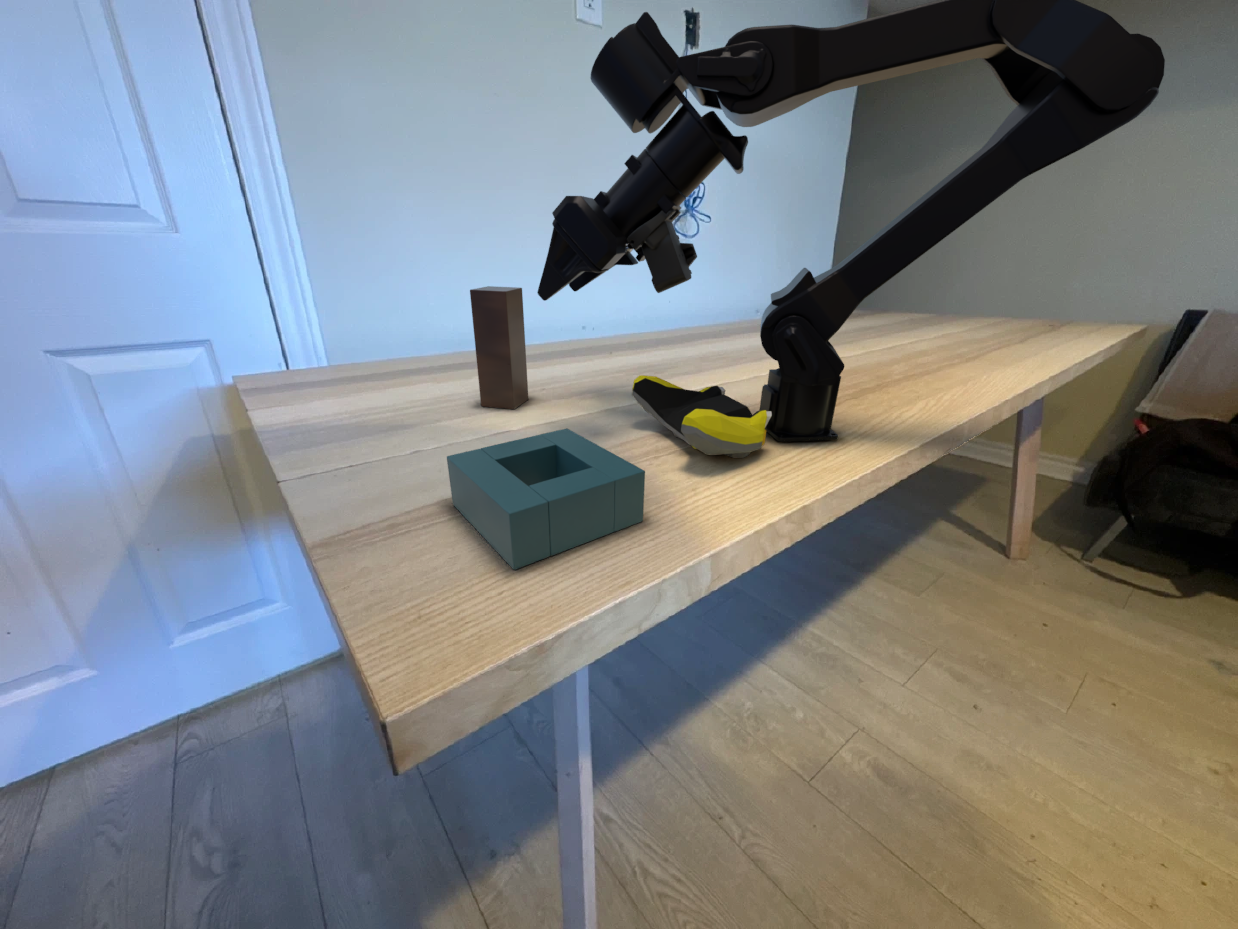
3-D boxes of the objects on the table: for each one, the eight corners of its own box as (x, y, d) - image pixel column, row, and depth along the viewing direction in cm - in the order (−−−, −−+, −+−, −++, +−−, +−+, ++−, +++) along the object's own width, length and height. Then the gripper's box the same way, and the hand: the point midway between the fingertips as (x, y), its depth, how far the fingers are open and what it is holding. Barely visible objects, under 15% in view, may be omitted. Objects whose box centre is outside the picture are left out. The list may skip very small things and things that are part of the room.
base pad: (568, 471, 44) (566, 427, 43) (643, 521, 37) (645, 470, 35) (452, 504, 39) (446, 455, 37) (513, 570, 31) (509, 513, 30)
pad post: (528, 399, 63) (522, 287, 58) (514, 409, 59) (505, 291, 54) (497, 396, 64) (488, 286, 59) (480, 406, 60) (469, 289, 55)
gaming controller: (689, 479, 43) (787, 463, 47) (694, 417, 41) (797, 405, 44) (624, 422, 56) (704, 412, 59) (625, 372, 54) (709, 365, 57)
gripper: (713, 243, 41) (581, 369, 48) (727, 240, 57) (628, 335, 64) (618, 128, 39) (497, 276, 46) (661, 159, 56) (567, 265, 63)
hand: (557, 292), depth 55 cm, fingers open, 9 cm apart
